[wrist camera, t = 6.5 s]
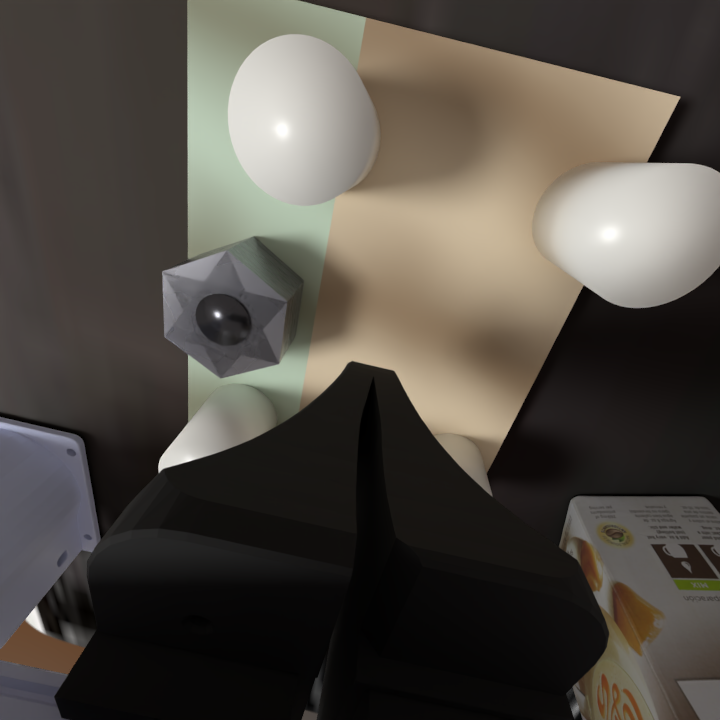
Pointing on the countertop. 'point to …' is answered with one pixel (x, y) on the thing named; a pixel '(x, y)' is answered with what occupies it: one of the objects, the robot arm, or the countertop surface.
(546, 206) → the spacers
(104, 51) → the countertop surface
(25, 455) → the robot arm
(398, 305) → the board
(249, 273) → the nut
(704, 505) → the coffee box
